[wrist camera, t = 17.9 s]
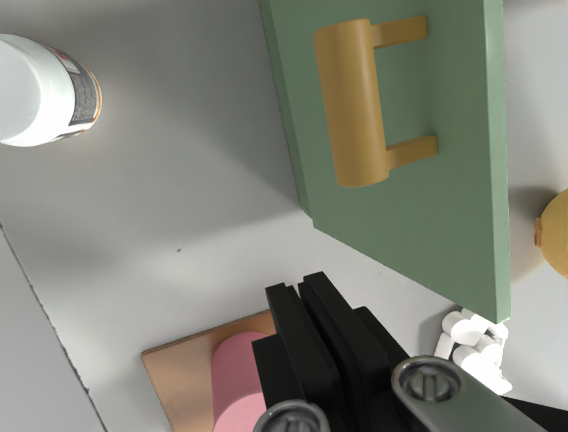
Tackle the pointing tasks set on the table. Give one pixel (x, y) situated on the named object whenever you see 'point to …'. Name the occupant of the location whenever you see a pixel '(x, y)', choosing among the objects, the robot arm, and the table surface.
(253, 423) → the pink cylinder
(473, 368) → the white abstract figurine
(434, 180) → the lid
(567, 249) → the stress ball
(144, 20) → the table surface
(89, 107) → the pill bottle
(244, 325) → the board
